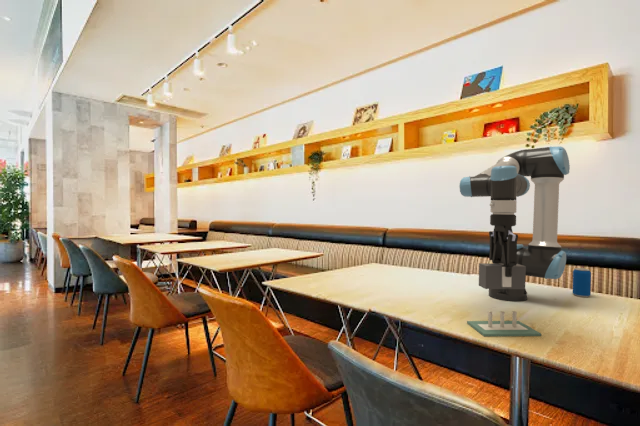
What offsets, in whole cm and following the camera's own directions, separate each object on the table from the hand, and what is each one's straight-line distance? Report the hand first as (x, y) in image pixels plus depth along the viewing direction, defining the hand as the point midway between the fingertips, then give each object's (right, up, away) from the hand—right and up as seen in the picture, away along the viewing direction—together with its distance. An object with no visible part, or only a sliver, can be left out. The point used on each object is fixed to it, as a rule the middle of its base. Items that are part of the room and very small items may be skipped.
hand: (501, 284), depth 116 cm
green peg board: (0, -15, 0) cm, 15 cm away
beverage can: (+57, -14, +42) cm, 73 cm away
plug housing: (0, -1, 0) cm, 1 cm away
